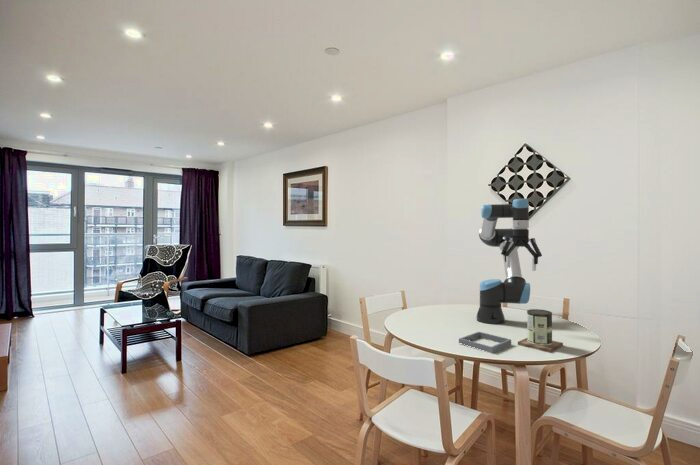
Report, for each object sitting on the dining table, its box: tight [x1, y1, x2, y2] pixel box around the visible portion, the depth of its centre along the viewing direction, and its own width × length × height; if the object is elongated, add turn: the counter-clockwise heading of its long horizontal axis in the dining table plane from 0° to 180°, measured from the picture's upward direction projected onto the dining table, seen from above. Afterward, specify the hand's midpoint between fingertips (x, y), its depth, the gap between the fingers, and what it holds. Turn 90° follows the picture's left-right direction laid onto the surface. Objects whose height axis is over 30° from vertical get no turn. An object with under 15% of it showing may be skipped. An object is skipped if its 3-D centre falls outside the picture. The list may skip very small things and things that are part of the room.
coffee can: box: [526, 308, 553, 346], centre depth 166 cm, size 10×10×14 cm
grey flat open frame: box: [458, 331, 512, 354], centre depth 168 cm, size 17×17×2 cm
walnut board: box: [517, 337, 564, 353], centre depth 166 cm, size 14×14×1 cm
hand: (520, 269), depth 189 cm, fingers open, 13 cm apart
